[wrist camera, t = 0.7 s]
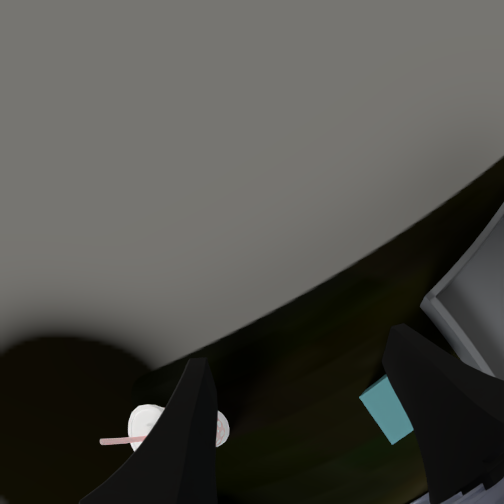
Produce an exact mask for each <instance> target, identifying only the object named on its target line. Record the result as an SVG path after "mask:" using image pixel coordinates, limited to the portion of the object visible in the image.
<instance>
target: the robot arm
mask: <svg viewBox="0 0 504 504" xmlns="http://www.w3.org/2000/svg"><path fill="white" fill-rule="evenodd" d="M382 364H383V366H384V369H385V372H386V375H387V377H388V380H389V382H390V384H391V386H392V388H393V390H394V392H395V394H396V396H397V397H398V399H399V401H400V403H401V405H402V407H403V409H404V411H405V413H406V414H407V416H408V418H409V420H410V422H411V425H412V427H413V429H414V432H415V435H416V438H417V441H418V444H419V447H420V451H421V455H422V458H423V462H424V467H425V472H426V477H427V483H428V491H429V492H428V493H427V494H425V495H423V496H422V497H420V498H418V499H417V500H415V501H413V502H412V503H410V504H504V380H501V379H498V378H496V377H493V376H490V375H488V374H486V373H484V372H481V371H479V370H477V369H475V368H473V367H471V366H469V365H467V364H466V363H464V362H462V361H460V360H459V359H457V358H455V357H454V356H452V355H451V354H449V353H447V352H446V351H444V350H443V349H441V348H440V347H438V346H437V345H435V344H434V343H432V342H431V341H429V340H428V339H426V338H425V337H424V336H422V335H421V334H419V333H418V332H416V331H415V330H413V329H412V328H410V327H409V326H407V325H405V324H404V323H403V324H399V325H395V326H392V327H391V329H390V333H389V337H388V341H387V344H386V348H385V352H384V355H383V358H382ZM217 422H218V404H217V390H216V386H215V383H214V380H213V377H212V374H211V371H210V367H209V364H208V361H207V357H206V358H192V359H190V360H189V361H188V363H187V365H186V367H185V370H184V372H183V374H182V376H181V378H180V381H179V383H178V385H177V387H176V389H175V391H174V392H173V394H172V396H171V398H170V400H169V402H168V404H167V405H166V407H165V409H164V410H163V412H162V414H161V415H160V417H159V419H158V420H157V422H156V423H155V425H154V426H153V428H152V429H151V431H150V432H149V434H148V435H147V436H146V438H145V439H144V440H143V442H142V443H141V444H140V446H139V447H138V448H137V449H136V450H135V452H134V453H133V454H132V455H131V456H130V458H129V459H128V460H127V461H126V462H125V463H124V464H123V465H122V466H121V467H120V468H119V469H118V470H117V471H116V472H115V473H114V474H113V475H112V476H111V477H109V478H108V479H107V480H106V481H105V482H104V483H103V484H101V485H100V486H99V487H97V488H96V489H95V490H94V491H92V492H91V493H89V494H88V495H87V496H85V497H84V498H83V499H81V500H80V502H79V504H218V503H217V492H216V479H215V454H216V437H217Z"/></svg>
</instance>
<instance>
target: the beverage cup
mask: <svg viewBox="0 0 504 504" xmlns="http://www.w3.org/2000/svg"><path fill="white" fill-rule="evenodd" d="M164 409H165V408H162V407H159V406H156V405H150V404H148V405H142V406H138V407H137V408H136V409H135V410H134V411H133V412H132V414H131V417H130V419H129V424H128V434H129V437H127V438H112V439H100V443H101V444H102V445H107V444H122V443H131V446H132V448H133V450H134V452H135V450H136V449H137V448H138V447H139V446H140V444H141V443H142V442H143V440H144V439H145V438H146V436H147V435H148V434H149V432H150V431H151V429H152V428H153V426H154V425H155V423H156V422H157V420H158V419H159V417H160V415H161V414H162V412H163V410H164ZM228 436H229V425H228V421H227V419H226V418H225V417H224V415H223V414H222V413H221V412H219V411H218V422H217V437H216V447H217V446H219V445H221V444H223V443H224V442H225V441H226V440H227V438H228Z"/></svg>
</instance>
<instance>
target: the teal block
mask: <svg viewBox="0 0 504 504" xmlns="http://www.w3.org/2000/svg"><path fill="white" fill-rule="evenodd" d="M359 398H360V399H361V401H362V402H363V403H364V405H365V406H366V408H367V409H368V411H369V412H370V413H371V415H372V416H373V418H374V419H375V421H376V422H377V423H378V425H379V426H380V428H381V429H382V431H383V432H384V434H385V435H386V436H387V438H388V439H389V441H390V442H391V444H392V445H393V444H394V443H396V442H397V441H399V440H400V439H401V438H403V437H404V436H406V435H407V434H408V433H410V432H411V431H413V430H414V429H413V427H412V425H411V422H410V420H409V418H408V416H407V414H406V413H405V411H404V409H403V407H402V405H401V403H400V401H399V399H398V397H397V396H396V394H395V392H394V390H393V388H392V386H391V384H390V382H389V380H388V377H387V375H384V376H383V377H382V378H380V379H379V380H378V381H376V382H375V383H374V384H372V385H371V386H370V387H368V388H367V389H366V390H365V391H364V392H363V393H362V395H361V396H360V397H359Z"/></svg>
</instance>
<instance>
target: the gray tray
mask: <svg viewBox="0 0 504 504" xmlns="http://www.w3.org/2000/svg"><path fill="white" fill-rule="evenodd" d="M420 307H421V309H422V310H423V311H424V312H425V313H426V315H427V316H428V317H429V318H430V320H431V321H432V322H433V323H434V325H435V326H436V327H437V328H438V330H439V331H440V332H441V334H442V335H443V336H444V338H445V339H446V340H447V341H448V343H449V344H450V345H451V347H452V348H453V350H454V351H455V352H456V354H457V355H458V356H459V358H460V359H461V361H462V362H464V363H466V364H467V365H469V366H471V367H473V368H475V369H477V370H479V371H481V372H484V373H486V374H488V375H490V376H493V377H496V378H498V379H501V380H504V203H503V204H502V205H501V207H500V208H499V210H498V211H497V213H496V214H495V215H494V217H493V218H492V219H491V221H490V222H489V224H488V225H487V226H486V227H485V229H484V230H483V231H482V233H481V234H480V235H479V236H478V238H477V239H476V240H475V241H474V243H473V244H472V245H471V246H470V248H469V249H468V250H467V251H466V252H465V254H464V255H463V256H462V257H461V258H460V259H459V260H458V262H457V263H456V264H455V265H454V266H453V267H452V268H451V269H450V271H449V272H448V273H447V274H446V275H445V276H444V277H443V278H442V279H441V280H440V281H439V282H438V283H437V284H436V285H435V286H434V287H433V288H432V289H431V290H430V291H429V292H428V293H427V294H426V295H425V297H424V299H423V301H422V303H421V305H420Z"/></svg>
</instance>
